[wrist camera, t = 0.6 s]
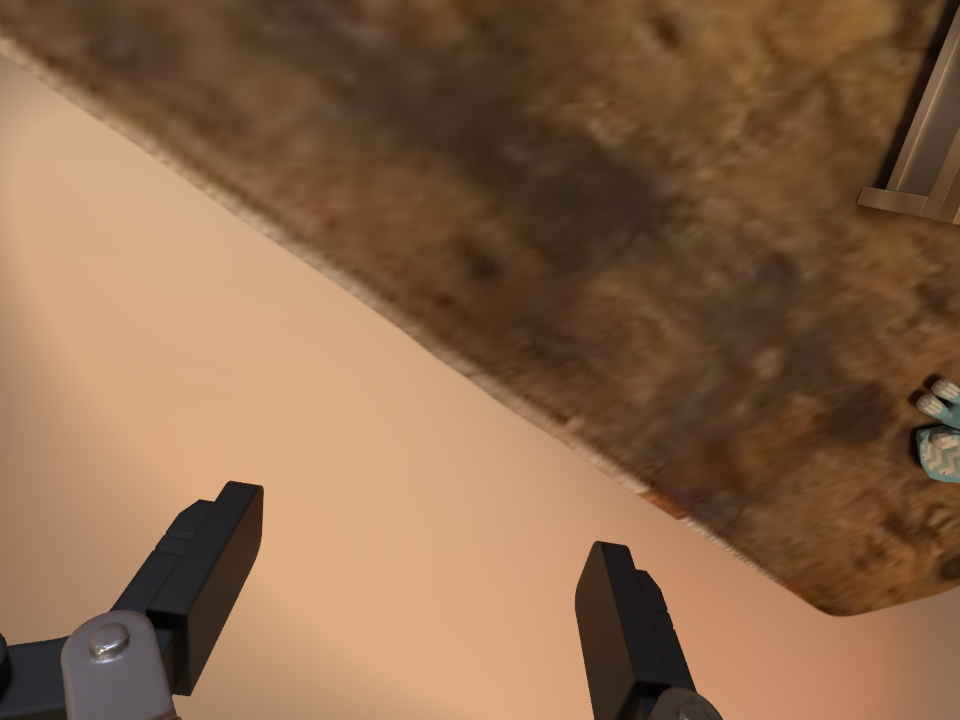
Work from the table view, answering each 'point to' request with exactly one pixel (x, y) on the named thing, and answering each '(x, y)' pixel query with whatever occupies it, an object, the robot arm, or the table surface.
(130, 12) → the table surface
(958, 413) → the stuffed animal
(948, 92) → the tray
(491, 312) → the table surface
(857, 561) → the table surface
